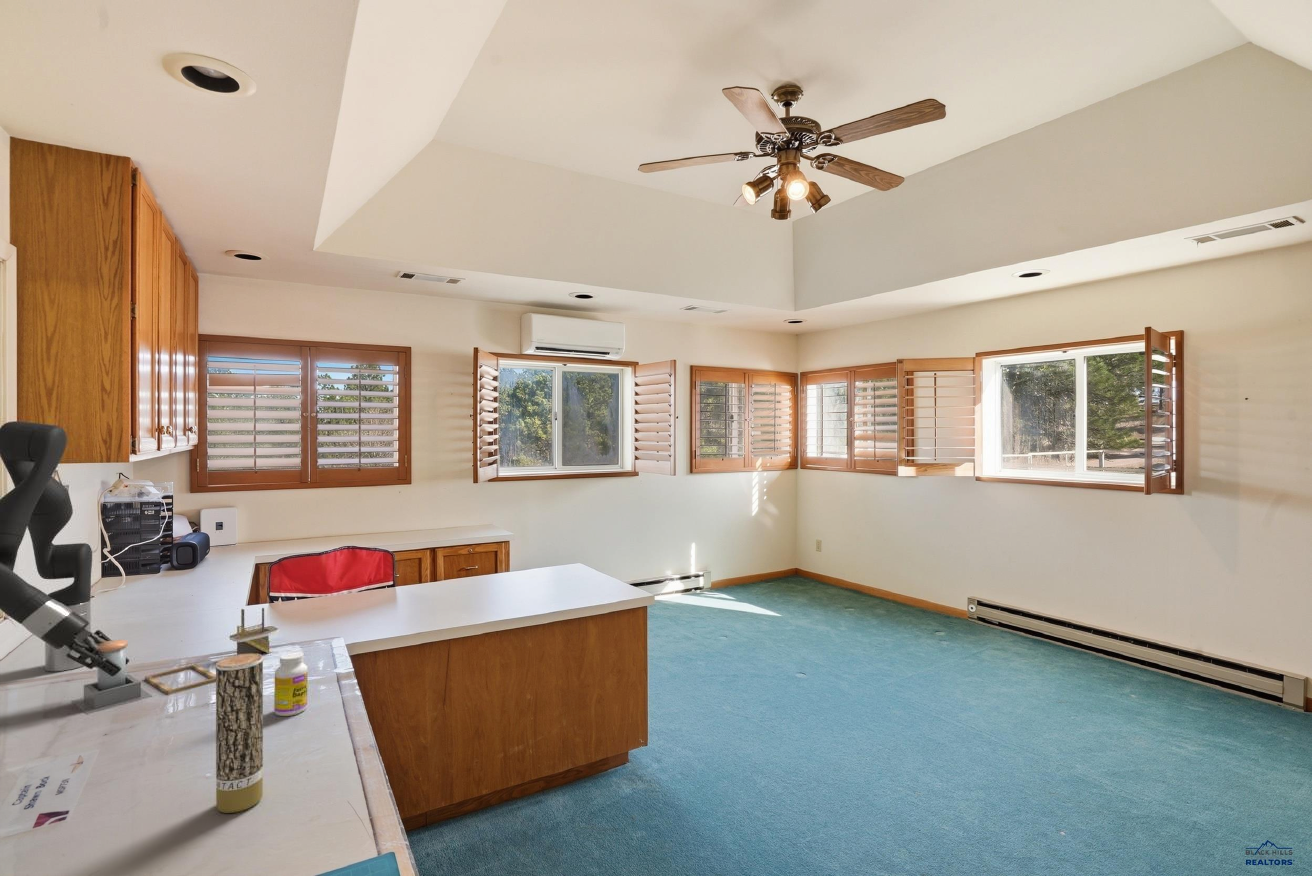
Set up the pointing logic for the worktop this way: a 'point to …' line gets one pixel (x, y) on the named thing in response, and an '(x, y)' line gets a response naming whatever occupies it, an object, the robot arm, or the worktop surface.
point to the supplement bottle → (290, 685)
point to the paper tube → (239, 732)
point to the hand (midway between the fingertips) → (121, 668)
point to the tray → (169, 691)
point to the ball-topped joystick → (116, 654)
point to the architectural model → (253, 637)
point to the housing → (110, 696)
